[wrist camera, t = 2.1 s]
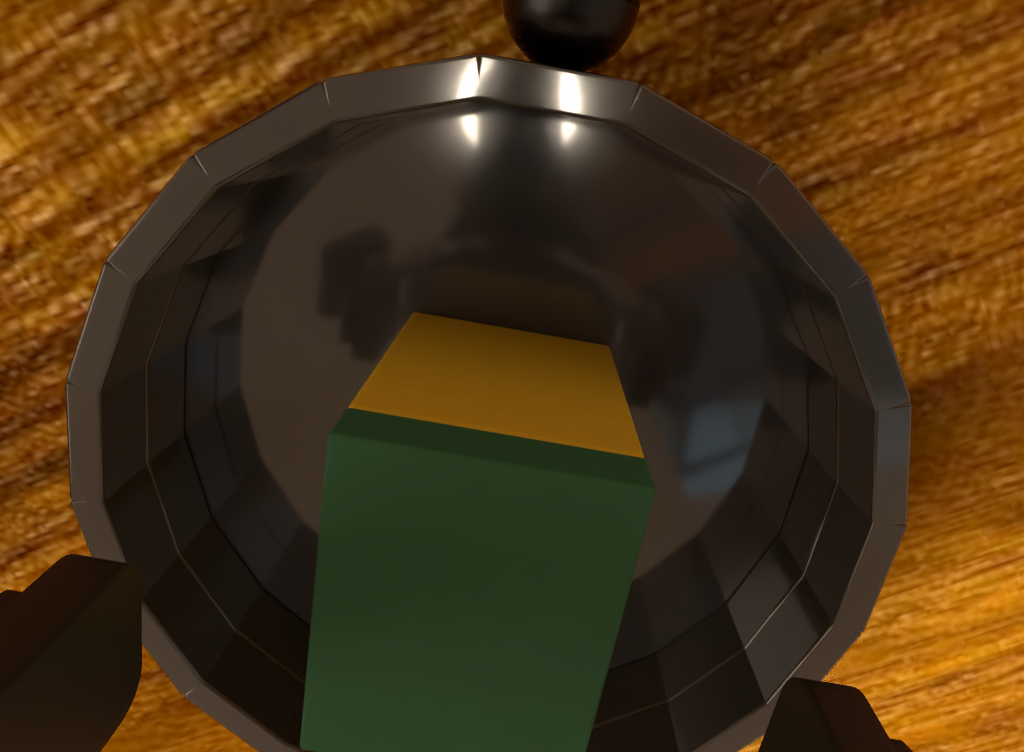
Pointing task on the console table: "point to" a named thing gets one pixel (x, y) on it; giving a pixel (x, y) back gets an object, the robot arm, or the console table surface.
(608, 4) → the skillet handle
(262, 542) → the skillet
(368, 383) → the sponge
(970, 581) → the console table surface
